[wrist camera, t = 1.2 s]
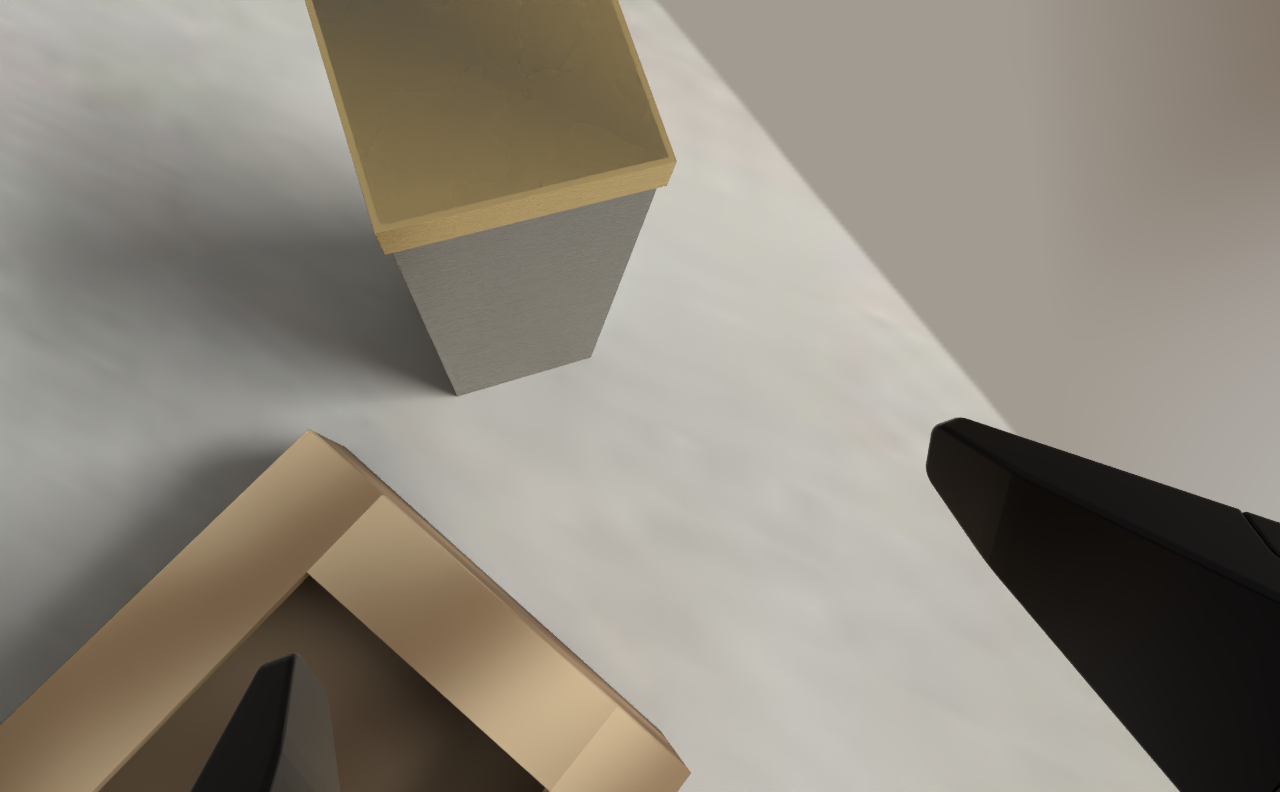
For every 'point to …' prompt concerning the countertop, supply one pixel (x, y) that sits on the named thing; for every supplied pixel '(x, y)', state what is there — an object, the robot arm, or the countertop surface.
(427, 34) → the tea canister
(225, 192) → the countertop surface
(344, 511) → the caddy
